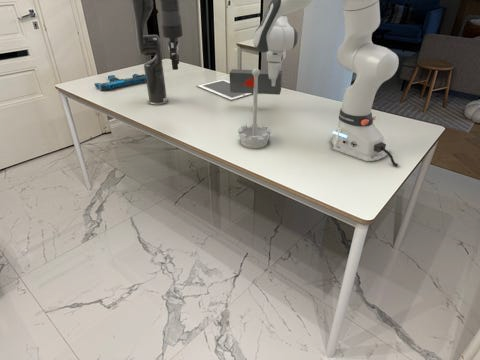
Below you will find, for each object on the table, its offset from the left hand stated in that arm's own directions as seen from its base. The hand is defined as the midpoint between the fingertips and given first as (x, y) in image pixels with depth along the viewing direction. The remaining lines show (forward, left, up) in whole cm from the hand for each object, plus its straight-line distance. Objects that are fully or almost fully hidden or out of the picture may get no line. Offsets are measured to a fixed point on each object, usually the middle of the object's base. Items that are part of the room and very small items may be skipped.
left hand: (175, 66), depth 138 cm
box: (+1, +41, -18) cm, 45 cm away
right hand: (+8, +47, -14) cm, 50 cm away
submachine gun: (-82, +2, -27) cm, 86 cm away
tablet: (-33, +46, -27) cm, 63 cm away
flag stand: (+30, +17, -27) cm, 44 cm away
